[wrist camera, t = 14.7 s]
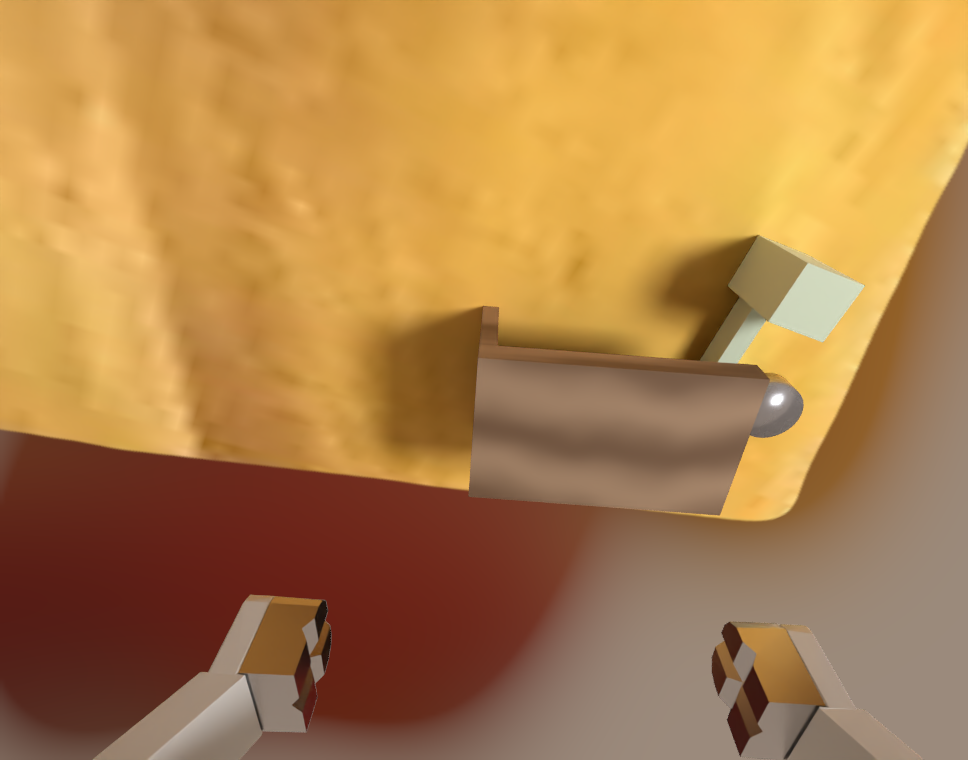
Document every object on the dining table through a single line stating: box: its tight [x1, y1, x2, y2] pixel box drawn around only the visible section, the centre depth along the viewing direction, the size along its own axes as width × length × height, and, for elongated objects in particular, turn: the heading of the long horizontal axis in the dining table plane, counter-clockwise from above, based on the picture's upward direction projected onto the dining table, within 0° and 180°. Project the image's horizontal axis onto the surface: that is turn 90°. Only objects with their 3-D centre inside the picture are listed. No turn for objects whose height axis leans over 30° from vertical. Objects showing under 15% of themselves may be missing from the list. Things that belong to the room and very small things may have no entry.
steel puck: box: [750, 373, 803, 438], centre depth 43 cm, size 5×5×2 cm
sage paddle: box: [700, 235, 865, 364], centre depth 38 cm, size 16×4×7 cm, turn 160°
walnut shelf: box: [469, 306, 770, 515], centre depth 39 cm, size 11×18×9 cm, turn 86°
